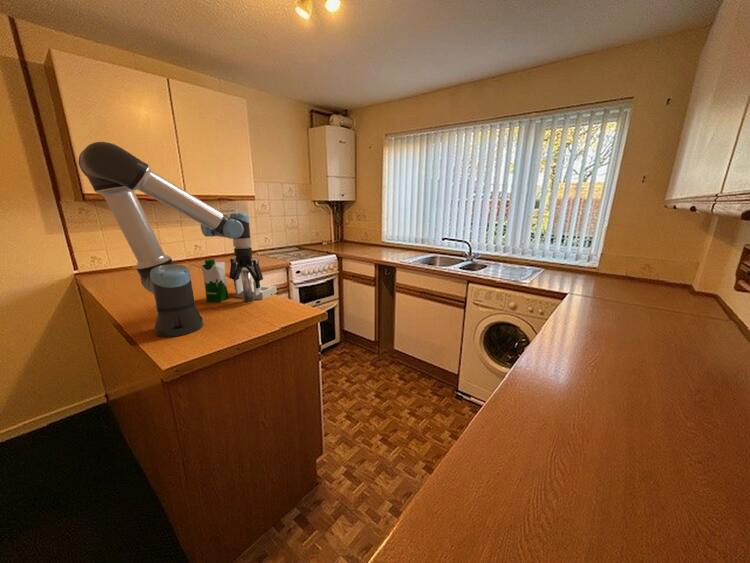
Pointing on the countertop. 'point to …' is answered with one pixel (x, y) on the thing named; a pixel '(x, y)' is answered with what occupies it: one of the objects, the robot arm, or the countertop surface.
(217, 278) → the milk carton
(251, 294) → the peg
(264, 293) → the l-shaped bracket
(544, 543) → the countertop surface
